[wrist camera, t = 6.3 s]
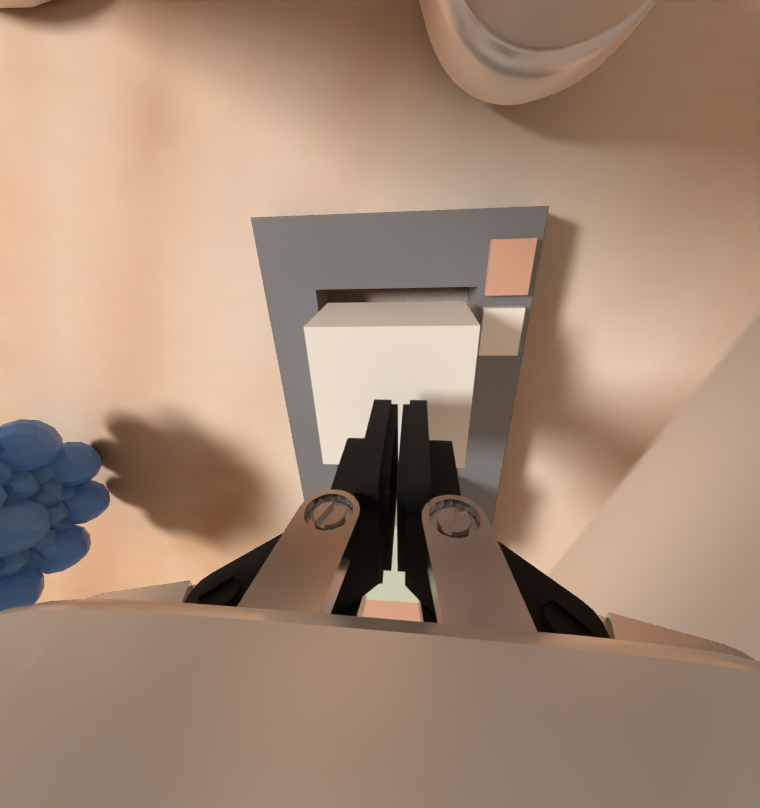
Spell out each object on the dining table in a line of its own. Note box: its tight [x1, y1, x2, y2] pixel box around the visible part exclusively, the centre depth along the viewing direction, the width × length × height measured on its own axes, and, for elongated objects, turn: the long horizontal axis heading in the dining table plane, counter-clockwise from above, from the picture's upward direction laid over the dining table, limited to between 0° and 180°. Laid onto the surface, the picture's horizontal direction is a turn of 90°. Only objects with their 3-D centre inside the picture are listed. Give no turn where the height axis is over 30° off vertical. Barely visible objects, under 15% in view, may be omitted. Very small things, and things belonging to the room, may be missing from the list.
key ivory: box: [304, 301, 480, 468], centre depth 14 cm, size 6×6×4 cm
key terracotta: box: [362, 600, 421, 622], centre depth 24 cm, size 6×6×4 cm
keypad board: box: [251, 206, 549, 526], centre depth 20 cm, size 30×11×2 cm, turn 2°
